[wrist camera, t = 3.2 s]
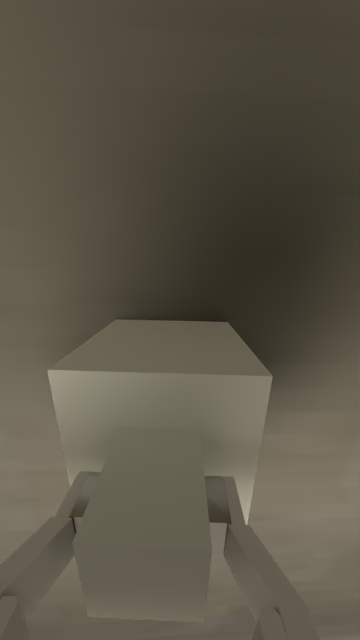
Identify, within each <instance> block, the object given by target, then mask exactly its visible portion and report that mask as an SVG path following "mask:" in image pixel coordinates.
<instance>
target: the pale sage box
mask: <svg viewBox="0 0 360 640" xmlns="http://www.w3.org/2000/svg"><path fill="white" fill-rule="evenodd" d="M47 371H48V376H49V381H50V386H51V392H52V397H53V402H54V407H55V412H56V417H57V422H58V427H59V433H60V438H61V443H62V448H63V453H64V458H65V463H66V468H67V474H68V479H69V484H70V487H71V485H72V483H73V482H74V480H75V478H76V476H77V475H78V473H79V472H80V471H92V472H101V474H100V476H99V479H98V481H97V483H96V486H95V488H94V491H93V493H92V496H91V498H90V501H89V503H88V505H87V508H86V510H85V513H84V515H83V518H82V520H81V523H80V525H79V527H78V530H77V532H76V535H75V537H74V540H73V542H72V544H73V548H74V553H75V558H76V562H77V567H78V571H79V576H80V581H81V585H82V590H83V595H84V599H85V604H86V609H87V613H88V617H103V618H123V619H143V620H163V621H183V622H203V623H204V620H205V610H206V601H207V591H208V581H209V571H210V562H211V552H212V545H211V535H210V525H209V515H208V505H207V495H206V485H205V476H227V477H233V478H234V479H235V483H236V487H237V491H238V495H239V499H240V503H241V507H242V511H243V515H244V519H245V523H246V525H247V522H248V516H249V510H250V504H251V499H252V493H253V487H254V481H255V476H256V470H257V464H258V458H259V453H260V447H261V441H262V435H263V430H264V424H265V418H266V412H267V407H268V401H269V395H270V389H271V384H272V378H273V376H272V375H271V374H270V372H269V371H268V370H267V369H266V368H265V366H264V365H263V364H262V363H261V362H260V360H259V359H258V358H257V357H256V355H255V354H254V353H253V352H252V351H251V349H250V348H249V347H248V346H247V345H246V343H245V342H244V341H243V340H242V339H241V337H240V336H239V335H238V334H237V333H236V331H235V330H234V329H233V328H232V327H231V325H230V324H229V323H228V322H207V321H165V320H123V319H116V320H115V321H113V322H112V323H111V324H109V325H108V326H106V327H105V328H104V329H102V330H101V331H100V332H98V333H97V334H96V335H94V336H93V337H91V338H90V339H89V340H87V341H86V342H85V343H83V344H82V345H81V346H79V347H78V348H76V349H75V350H74V351H72V352H71V353H70V354H68V355H67V356H66V357H64V358H63V359H61V360H60V361H59V362H57V363H56V364H55V365H53V366H52V367H50V368H49V369H48V370H47Z"/></svg>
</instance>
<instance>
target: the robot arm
mask: <svg viewBox="0 0 360 640" xmlns="http://www.w3.org/2000/svg"><path fill="white" fill-rule="evenodd" d="M100 474H101V472H92V471H80V472H79V473H78V475H77V476H76V478H75V480H74V482H73V483H72V485H71V487H70V489H69V491H68V493H67V495H66V497H65V499H64V501H63V503H62V504H61V506H60V508H59V510H58V512H57V514H56V516H55V517H51V518H50V519H49V520H48V521H47V522H46V523H45V524H43V525H42V526H41V527H40V528H39V529H38V530H37V531H36V532H35V533H34V534H33V535H32V536H31V537H30V538H29V539H28V540H27V541H26V542H25V543H23V544H22V545H21V546H20V547H19V548H18V549H17V550H16V551H15V552H14V553H13V554H12V555H11V556H10V557H9V558H8V559H7V560H6V561H5V562H3V563H2V564H1V565H0V640H32V634H31V631H30V629H29V626H28V624H27V621H26V619H27V618H28V617H29V615H30V614H31V613H32V611H33V610H34V609H35V607H36V606H37V605H38V603H39V602H40V601H41V599H42V598H43V597H44V595H45V594H46V593H47V591H48V590H49V589H50V587H51V586H52V585H53V583H54V582H55V581H56V579H57V578H58V577H59V575H60V574H61V572H62V571H63V570H64V568H65V567H66V566H67V564H68V563H69V562H70V560H71V559H72V558H73V556H74V555H75V553H74V548H73V544H72V542H73V540H74V537H75V535H76V532H77V530H78V527H79V525H80V523H81V520H82V518H83V515H84V513H85V510H86V508H87V505H88V503H89V501H90V498H91V496H92V493H93V491H94V488H95V486H96V483H97V481H98V479H99V476H100ZM205 485H206V495H207V505H208V515H209V525H210V535H211V545H212V552H211V553H212V554H224V557H225V559H226V561H227V563H228V565H229V567H230V569H231V572H232V574H233V576H234V578H235V580H236V582H237V584H238V586H239V588H240V590H241V592H242V594H243V596H244V598H245V600H246V602H247V604H248V606H249V608H250V610H251V612H252V614H253V616H254V619H255V621H256V623H257V624H256V628H255V632H254V636H253V640H320V638H319V635H318V633H317V630H316V627H315V624H314V622H313V619H312V616H311V613H310V611H309V609H308V607H307V606H306V604H305V603H304V601H303V600H302V599H301V597H300V596H299V594H298V593H297V592H296V590H295V589H294V587H293V586H292V585H291V583H290V582H289V580H288V579H287V577H286V576H285V575H284V573H283V572H282V570H281V569H280V568H279V566H278V565H277V563H276V562H275V561H274V559H273V558H272V556H271V555H270V553H269V552H268V551H267V549H266V548H265V546H264V545H263V544H262V542H261V541H260V539H259V538H258V537H257V535H256V534H255V532H254V531H253V529H252V528H251V527H250V525H246V523H245V519H244V515H243V511H242V507H241V503H240V499H239V495H238V491H237V487H236V483H235V479H234V478H233V477H227V476H205Z"/></svg>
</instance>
